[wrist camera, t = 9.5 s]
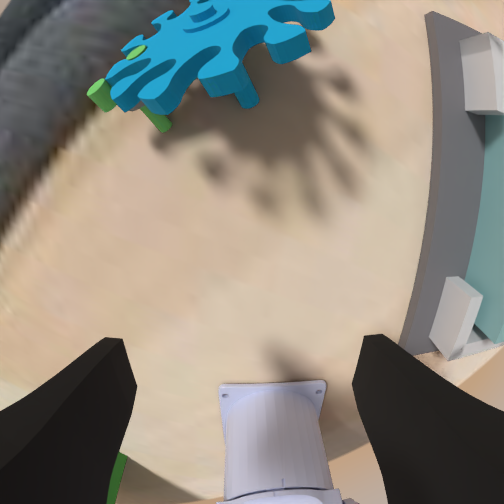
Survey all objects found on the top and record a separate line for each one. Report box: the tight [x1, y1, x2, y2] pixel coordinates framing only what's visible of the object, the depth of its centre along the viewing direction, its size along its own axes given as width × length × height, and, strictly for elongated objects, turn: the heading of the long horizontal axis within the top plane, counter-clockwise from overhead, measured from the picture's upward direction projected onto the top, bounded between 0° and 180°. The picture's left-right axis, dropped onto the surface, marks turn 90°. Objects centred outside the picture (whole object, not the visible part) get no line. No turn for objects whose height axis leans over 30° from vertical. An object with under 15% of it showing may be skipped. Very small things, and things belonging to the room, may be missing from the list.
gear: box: [87, 0, 335, 132], centre depth 12 cm, size 11×6×10 cm
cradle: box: [398, 11, 504, 361], centre depth 14 cm, size 24×11×4 cm, turn 0°
